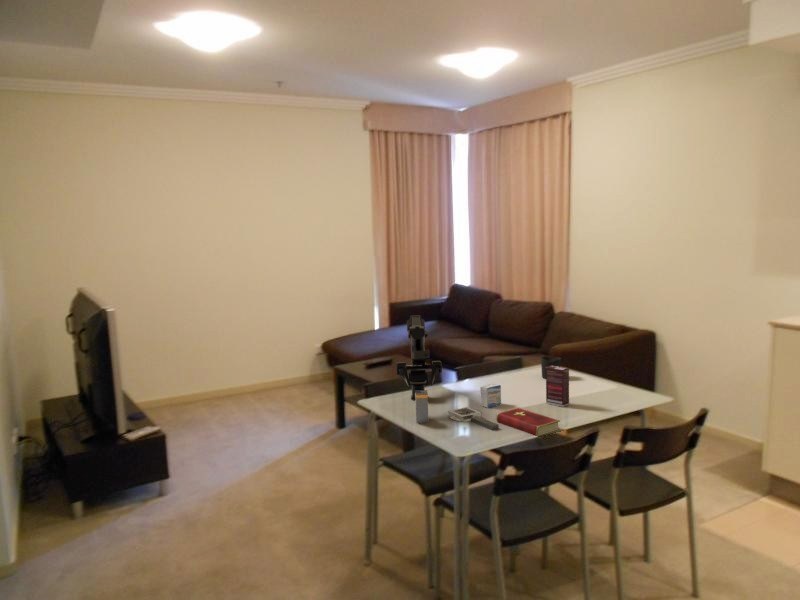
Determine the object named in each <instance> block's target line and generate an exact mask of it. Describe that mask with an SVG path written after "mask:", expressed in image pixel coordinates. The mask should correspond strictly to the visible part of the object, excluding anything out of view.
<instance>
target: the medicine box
mask: <svg viewBox="0 0 800 600" xmlns="http://www.w3.org/2000/svg"><path fill="white" fill-rule="evenodd" d="M479 387H480V389H479V391H480V394H479V395H480V406H481V407H483V406H484V408H486V407H487V409H490V408H493V406H494V407H497V406H500V404H501V405H502V387H501V385H500V384H498V383H490V384H486V385H481V386H479ZM496 405H497V406H496ZM489 407H490V408H489Z"/></svg>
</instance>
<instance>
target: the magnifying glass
mask: <svg viewBox="0 0 800 600" xmlns="http://www.w3.org/2000/svg"><path fill="white" fill-rule="evenodd" d="M447 414H448V416H449V418H450V419H451V420H452V419H453V420H452V421H455V420H456V421H457V422H462V421H467V422H471V423H474V424H477V425H479V426H480V427H483V428H486V429H488V430H491V431H495V430H499V427H500V426H499V424H498V423H497V422H496V423H495V422H494V421H490V420H488V419H485V418H483V417H482V412H481V411H479V410H477V409H474V408H471V407H469V406H464V407H460V408H455V409H450V410H448V411H447Z"/></svg>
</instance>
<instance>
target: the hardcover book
mask: <svg viewBox="0 0 800 600" xmlns="http://www.w3.org/2000/svg"><path fill="white" fill-rule="evenodd" d="M559 422H561V420H560V419H556V418H553V417H549V416H546V415H543V414H542V413H541V414H540V413H538V412H537V413H536V412H534V411H531V410H527V409H525V408H520V407H516V408H511V409H510V410H504V411H501V412H497V413H496V423H497V424H498V423H499V424H501V425H504V426H507V427H509V428H513V429H516V430H519V431H521V432H524V433H527V434H529V435H532V436H535V437H539V436H543V435H545V434H549V433H551V432H555V431H558V430H559Z"/></svg>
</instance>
